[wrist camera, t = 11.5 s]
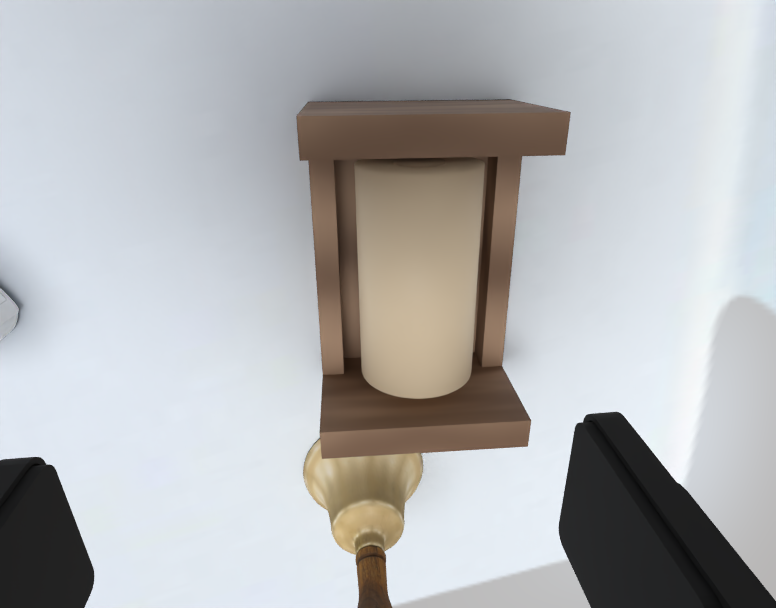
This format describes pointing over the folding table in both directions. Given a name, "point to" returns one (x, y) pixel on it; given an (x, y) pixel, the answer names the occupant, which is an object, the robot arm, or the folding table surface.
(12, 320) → the photo printer
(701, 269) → the folding table surface
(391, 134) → the roll cradle
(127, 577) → the folding table surface
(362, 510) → the hand bell
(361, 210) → the paper roll
